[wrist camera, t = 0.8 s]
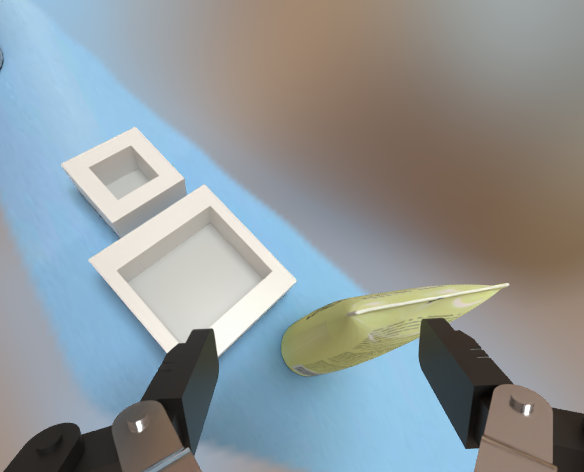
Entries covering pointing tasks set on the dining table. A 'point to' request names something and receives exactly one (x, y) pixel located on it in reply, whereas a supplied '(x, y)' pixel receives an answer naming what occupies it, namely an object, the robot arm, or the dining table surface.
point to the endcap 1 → (126, 181)
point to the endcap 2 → (194, 272)
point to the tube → (372, 325)
